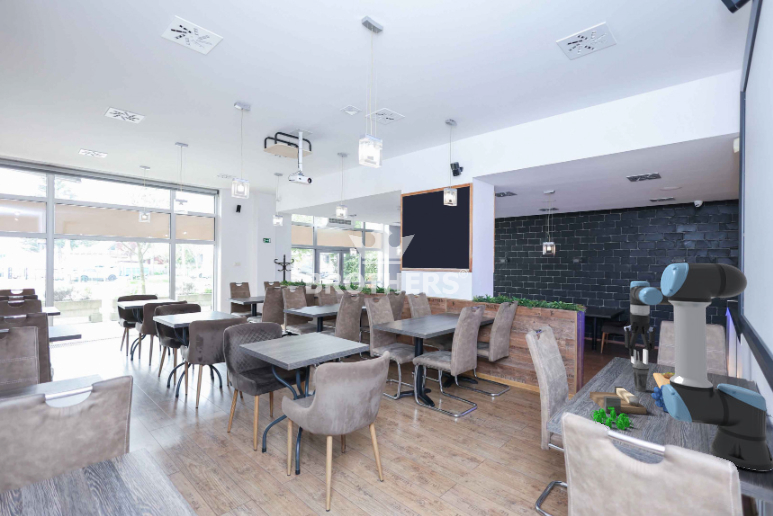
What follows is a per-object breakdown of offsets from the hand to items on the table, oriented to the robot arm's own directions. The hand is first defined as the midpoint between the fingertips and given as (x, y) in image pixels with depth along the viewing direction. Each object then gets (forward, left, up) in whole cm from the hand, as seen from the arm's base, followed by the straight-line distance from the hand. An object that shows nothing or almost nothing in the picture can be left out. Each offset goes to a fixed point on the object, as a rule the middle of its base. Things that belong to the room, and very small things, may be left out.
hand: (639, 363), depth 175 cm
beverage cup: (+18, -10, -19) cm, 28 cm away
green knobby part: (-25, +24, -19) cm, 40 cm away
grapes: (-11, -6, -19) cm, 23 cm away
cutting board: (+26, -36, -20) cm, 49 cm away
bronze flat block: (-5, +13, -19) cm, 23 cm away
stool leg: (-11, +8, -15) cm, 21 cm away
